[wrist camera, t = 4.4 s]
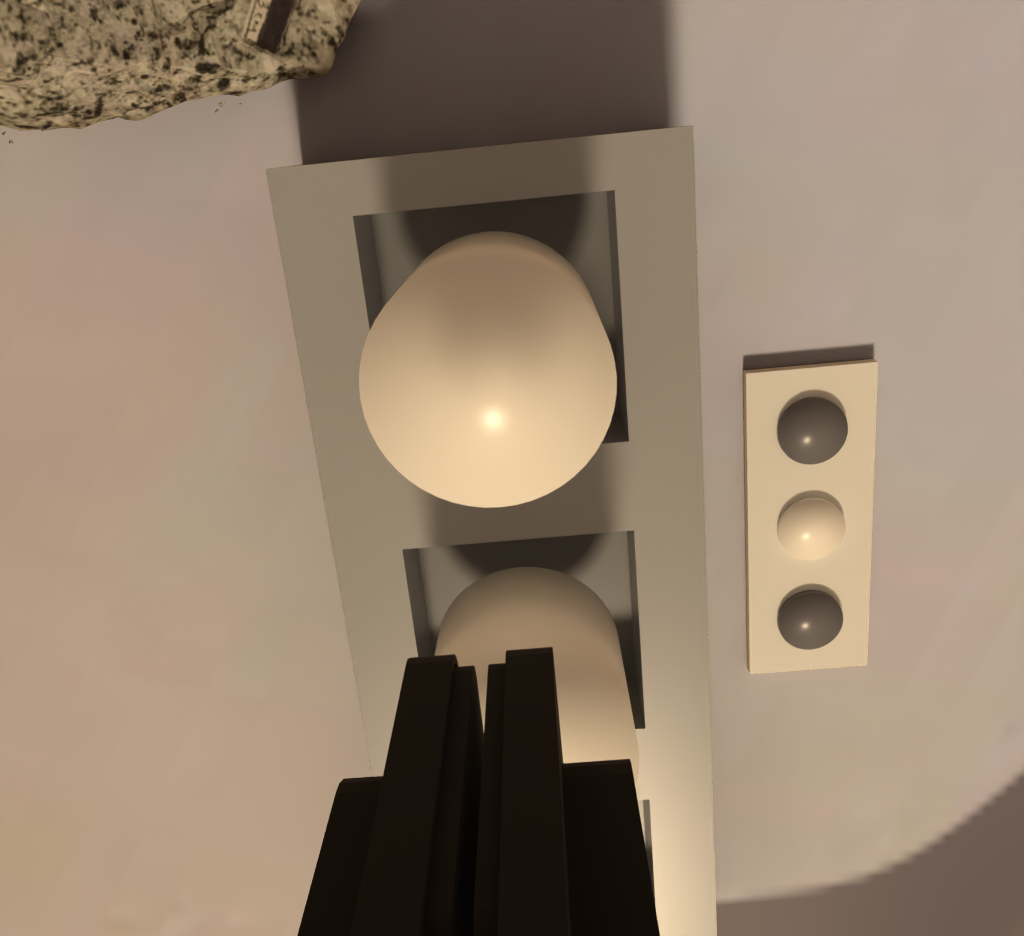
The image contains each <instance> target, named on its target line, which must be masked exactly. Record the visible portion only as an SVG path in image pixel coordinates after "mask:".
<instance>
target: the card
mask: <svg viewBox="0 0 1024 936" xmlns="http://www.w3.org/2000/svg"><path fill="white" fill-rule="evenodd" d="M877 376H878V362H877V361H876V360H874V359H867V360H855V361H844V362H833V363H822V364H811V365H800V366H788V367H777V368H766V369H755V370H744V371H743V394H744V467H745V540H746V612H747V668H748V671H749V673H750V674H757V673H770V672H784V671H797V670H810V669H824V668H837V667H851V666H864V665H867V657H868V629H869V601H870V573H871V545H872V516H873V488H874V460H875V432H876V404H877Z"/></svg>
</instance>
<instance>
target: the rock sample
mask: <svg viewBox="0 0 1024 936" xmlns="http://www.w3.org/2000/svg"><path fill="white" fill-rule="evenodd" d="M360 1H361V0H0V125H2V126H5V127H9V128H13V129H16V130H20V131H24V130H39V129H40V130H41V131H44V130H50V129H57V128H77V129H81V128H84V127H87V126H89V125H92V124H94V123H97V122H101V121H105V120H109V119H113V118H117V117H120V118H123V119H125V120H133V121H137V120H142V119H145V118H147V117H149V116H151V115H153V114H155V113H157V112H160V111H162V110H165V109H167V108H169V107H172V106H174V105H177V104H179V103H182V102H184V101H188V100H194V99H199V98H203V97H208V96H212V95H235V96H240V95H243V94H245V93H248V92H250V91H254V90H264V89H267V88H270V87H272V86H274V85H276V84H277V83H279V82H281V81H285V80H288V79H303V78H311V77H320V76H323V75H325V74H326V73H328V72H329V71H330V69H331V68H332V65H333V62H334V59H335V56H336V53H337V51H338V48H339V46H340V44H341V43H342V42H343V40H344V39H345V36H346V30H347V28H348V25H349V23H350V20H351V18H352V17H353V15H354V13H355V11H356V9H357V7H358V5H359V3H360ZM224 103H225V102H221V103H218V104H219V105H220V106H221V107H222V106H223V104H224ZM239 104H241V103H239ZM216 111H218V109H217V110H216ZM216 111H215V112H216ZM2 134H3V135H4V134H5V132H4V133H2ZM9 143H13V142H12V141H11V140H10V141H9Z"/></svg>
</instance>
